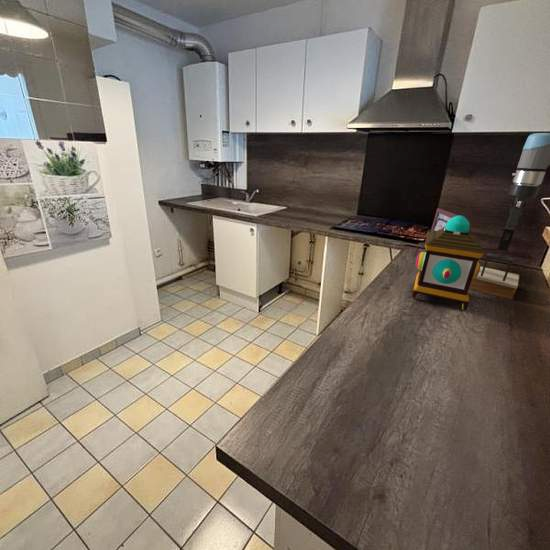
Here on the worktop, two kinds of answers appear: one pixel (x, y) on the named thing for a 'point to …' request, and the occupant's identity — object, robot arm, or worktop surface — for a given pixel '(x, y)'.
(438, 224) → the picture frame
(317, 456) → the worktop surface
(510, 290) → the open wooden box
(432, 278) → the decorative lantern
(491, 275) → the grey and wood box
